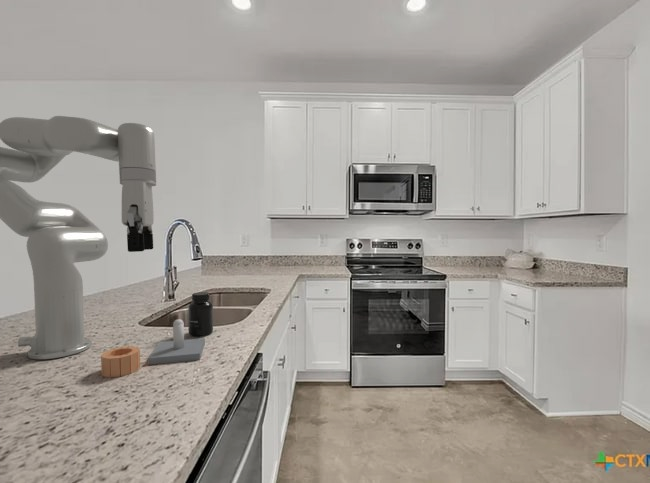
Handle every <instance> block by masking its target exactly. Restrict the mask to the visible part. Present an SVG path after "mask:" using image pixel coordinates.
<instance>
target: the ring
mask: <svg viewBox="0 0 650 483" xmlns="http://www.w3.org/2000/svg"><path fill="white" fill-rule="evenodd" d="M100 366H101V367H100V370H101V373H100V374H101V375H102V377H105V378H119V377H123V376H127V375H130V374H133V373H134V372H137V371H138V370H139V369H140V368H141V348H140V347H138V346H135V345H134V346H133V345H129V346H127V345H125V346H120V347H119V346H118V347H115V348H111V349H109V350H106V351H104V352H103V353H102V354H101V355H100Z"/></svg>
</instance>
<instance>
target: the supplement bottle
mask: <svg viewBox="0 0 650 483" xmlns="http://www.w3.org/2000/svg"><path fill="white" fill-rule="evenodd" d="M210 299H211V298H210V292H208V291H207V292H206V291H200V292H198V291H197V292H194V293H192V294H191V301H192V302H190V303H189V305H188V306H187V307H188V311H187V312H188V314H187V316H188V318H187V319H188V320H187V321H188V324H187V325H188V326H187V327H188V335H189V336H190V337H193V338H200V337H206V336H210V335H211V334H212V333H213V332H214V304H213V303H212V301H210Z"/></svg>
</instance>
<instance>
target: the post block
mask: <svg viewBox="0 0 650 483" xmlns="http://www.w3.org/2000/svg"><path fill="white" fill-rule="evenodd" d="M172 328H173V330H172V332H173V333H172V337H173V338H172V339H173V340H167V341H160V342H159V343H158V344H157V346H155V348H154V350H153V351H152V353H151V354H150V355H149V357H148V360H147V361H148V362H147V363H148V364H147V365H148V366H149V365H150V366H151V365H159V364H160V365H161V364H168V363H169V364H170V363H179V362H188V361H189V362H191V361H198V360H201V358H202V354H203V351H204V347H205V345H206V339H205V338H191V339H190V338H189V339H185V323H184V321H183V320H182V319H180V318H178V319H175V320H174V321H173V323H172Z"/></svg>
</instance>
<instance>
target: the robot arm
mask: <svg viewBox="0 0 650 483" xmlns="http://www.w3.org/2000/svg"><path fill="white" fill-rule="evenodd" d="M0 140H1V141H2V143H4V145H6V146H8V147H9V148H8V147H7V148H6V147H3V146H0V221H2V222H3V223H4V224H5V225H6V226H7V227H9V229H10V230H12V231H13V232H14V233H15V234H17V235H19V236H21V237H26V238H27V241H26V250H27V254H28V257H29V262H30V265H31V271H32V277H33V292H34V294H33V295H34V319H35V321H34V322H35V324H34V325H35V335H33V336H29V335H28V336H20V337H19V338H18V343H17V345H18V347H19V348H20V347H29V348H30V349H29V350H28V352H27V357H28V358H29V359H32V360H50V359H58V358H63V357H64V358H65V357H68V356H72V355H76V354H78V353H81V352H84V351H86V350H88V349H90V348H91V346H92V343H93V342H92V341H93V340H92V339H91V338H87V337H85V321H84V320H85V319H84V318H85V316H84V288H83V286H84V285H83V277H82V275H81V273H80V271H79V270H78V268H77V267H76V266H75V264H76V263H83V262H91V261H96V260H99V259H101V258H102V257H103V256H105V254H106V253H107V251H108V248H109V247H108V246H109V244H108V240H107V237H106V235H105V233H104V232H103V231H102V230H101V229H100V228H99V227H98V226H97V225H96V224H95V223H94V222H93V221H91V220H90V219H89V218H88V216H86V215H84V213H82V212H81V211H80V210H79V209H77V208H76V207H74V206H71V205H70V204H66V203H61V202H49V201H43V200H39V199H36V198H35V197H34V196H32V195H31V194H30V193H28V191H26V189H24V188H23V187H21V186H20V185H18V184H16V183H15V182H19V183H34V182H37V181H40V180H41V179H43V178H44V177H45V176H46V175H48V173H49V172H50V171H51V170H52V169H53V168H55V167H56V166H57V165H59V163H60V162H62V160H63V159H64V158H65V157H67V156H68V155H70V154H72V153H73V152H74V153H82V154H84V155H90V156H94V157H98V158H101V159H106V160H109V161H113V162H118V172H119V184H120V185H121V187H122V188H121V223H122V224H123V226H126V239H127V252H130V253H135V252H144V251H145V250H153V249H154V235H153V227H152V226H153V224H154V201H153V200H154V199H153V189H152V187H155V186H157V170H156V169H157V168H156V146H155V144H156V143H155V133H154V130H153V129H152V128H151V127H149V126H147V125H145V124H142V123H137V122H124V123H121V124H119V126H118V127H117V128H114V127H111V126H108V125H105V124H102V123H100V122H97V121H95V120H91V119H87V118H83V117H76V116H65V115H64V116H63V115H54V116H52V117H50V118H49V119H43V118H34V117H33V118H32V117H23V116H18V117H17V116H16V117H15V116H14V117H13V116H12V117H8V118H5V119H3V120H2V121H1V122H0Z"/></svg>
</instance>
